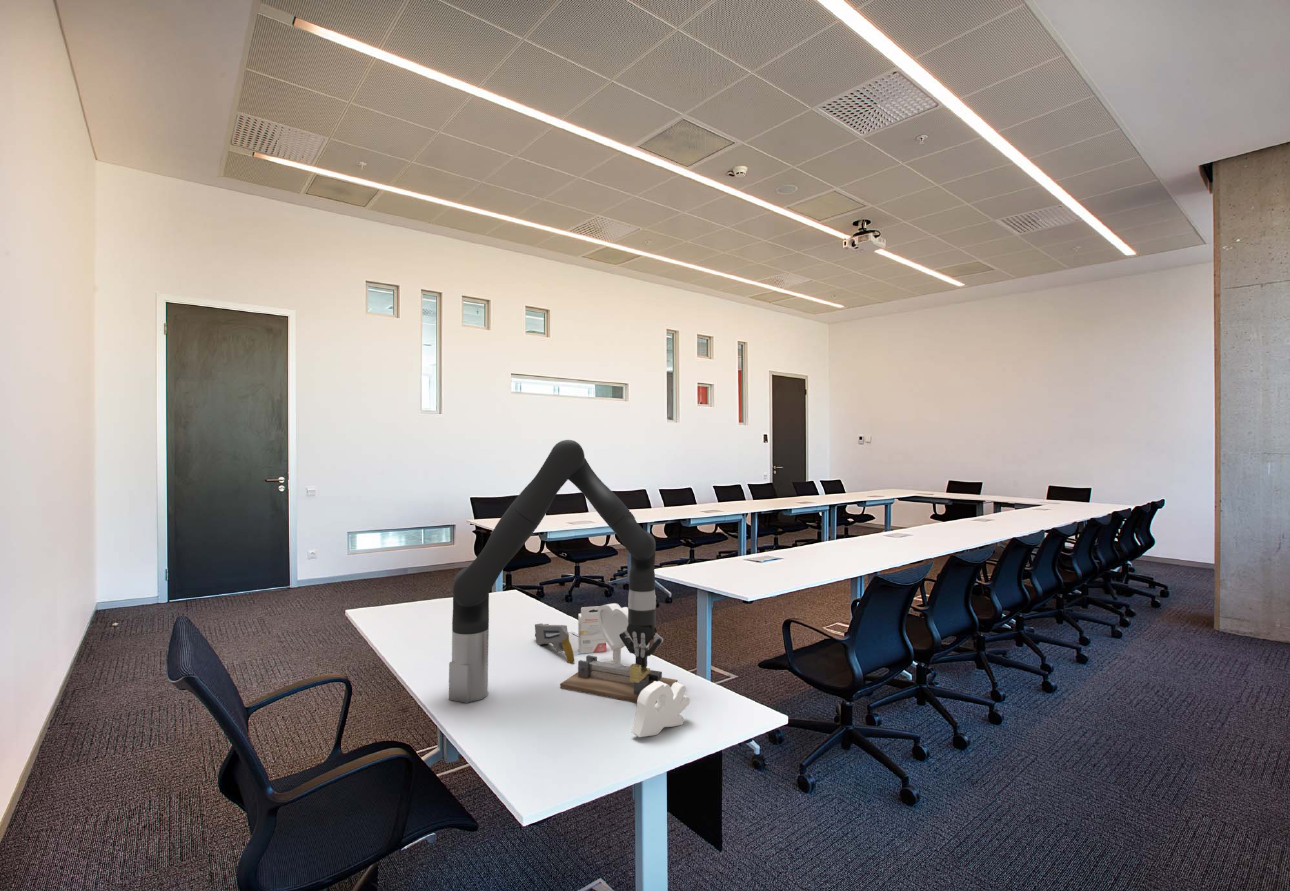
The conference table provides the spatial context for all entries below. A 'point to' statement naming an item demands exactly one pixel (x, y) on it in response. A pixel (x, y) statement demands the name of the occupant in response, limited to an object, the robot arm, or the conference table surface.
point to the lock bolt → (638, 673)
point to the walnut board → (605, 687)
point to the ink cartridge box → (590, 632)
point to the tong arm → (620, 669)
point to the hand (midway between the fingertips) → (641, 669)
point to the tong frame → (610, 675)
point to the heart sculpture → (613, 628)
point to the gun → (555, 638)
